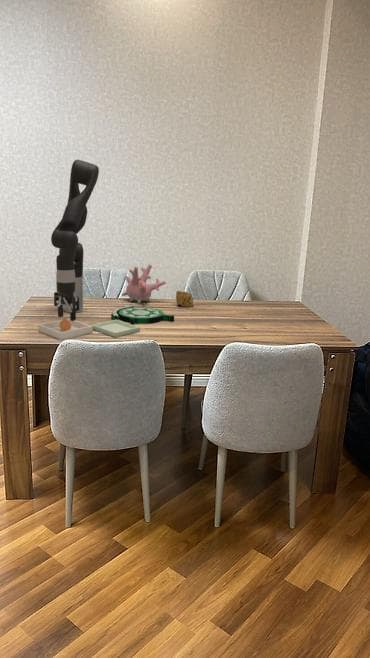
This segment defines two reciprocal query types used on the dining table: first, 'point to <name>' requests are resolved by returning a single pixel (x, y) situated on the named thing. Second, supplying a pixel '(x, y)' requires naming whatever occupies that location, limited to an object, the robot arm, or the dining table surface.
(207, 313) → the dining table surface
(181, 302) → the rock
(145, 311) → the emblem
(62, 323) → the ball
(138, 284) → the toy
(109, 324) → the tray
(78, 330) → the cream square dish
